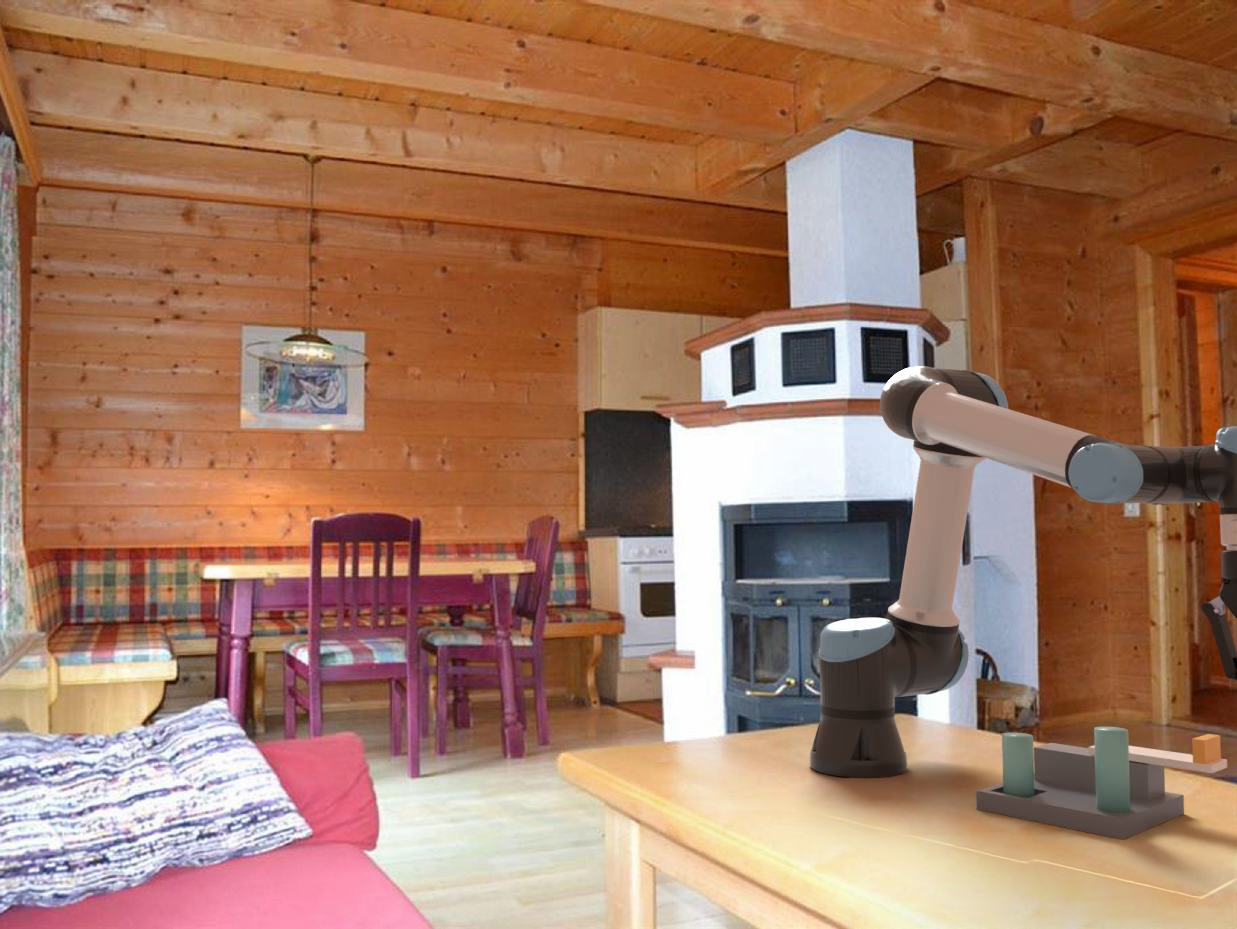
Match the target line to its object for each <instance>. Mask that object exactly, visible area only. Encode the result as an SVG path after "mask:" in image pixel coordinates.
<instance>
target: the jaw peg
mask: <svg viewBox="0 0 1237 929" xmlns="http://www.w3.org/2000/svg"><path fill="white" fill-rule="evenodd" d="M1001 741H1002V742H1001V744H1002V745H1001V746H1002V747H1001V750H1002V752H1001V753H1002V754H1001V755H1002V783H1003V793H1004V794H1009V795H1014V796H1020V797H1025V798H1028V797H1032V796H1034V735H1032V734H1029V733H1025V732H1004V733H1002V734H1001Z"/></svg>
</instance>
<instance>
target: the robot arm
mask: <svg viewBox="0 0 1237 929" xmlns="http://www.w3.org/2000/svg"><path fill="white" fill-rule="evenodd" d="M879 410H880V415H881V417H882V419H883V421H884V423H885V425H886V426H887V427H888V429H889V430H891V431H892V432H893V433H895V434H896V435H897V436H900V437H902V438H903V439H908V440H913V444H912V445H913V447H912V449H913V450H914V452H915V453H916V454H917V455H918V457H919V459H920V463H919V469H918V476H917V481H916V486H915V487H916V488H915V494H914V501H913V508H912V513H911V521H910V526H909V533H908V540H907V546H906V553H905V559H904V565H903V571H902V578H901V587H900V592H899V599H898V600H897V601H895V602H894V603H892V604H891V605H890V606H889V607H888V609H887V615H886V618H884V617H883V618H882V617H859V618H848V619H843V620H838V621H833V622H831V623H828V624H826V625H825V626H824V627H823V628H822V630H821V632H820V634H819V637H820V639H819V641H820V642H819V649H818V656H819V685H820V686H819V687H820V689H819V692H820V694H819V695H820V719H819V723H818V726H817V730H816V733H815V736H814V739H813V743H812V747H811V750H810V752H809V756H810V757H809V764H810V768H811V769H812V770H813V771H817V772H819V773H822V774H826V775H830V776H837V777H845V778H859V779H860V778H862V779H863V778H864V779H869V778H872V779H875V778H889V777H895V776H899V775H902V774H904V773H906V772H907V771H908V757H907V756H908V755H907V752H906V751H905V749H904V744H903V741H902V738H901V735H900V732H899V729H898V726H897V722H896V713H895V712H896V711H895V709H896V706H895V705H896V704H895V702H896V700H895V698H901V697H910V696H918V695H919V696H920V695H926V696H927V695H933V694H936V693H939V692H943V691H945V690H946V691H947V690H949V689H951V688H952V687H954V686H956V684H957V683H958V682H959V681H961V679H962V678H963V676H964V674H965V672H966V670H967V667H968V662H969V657H970V656H969V655H970V654H969V645H968V643H966V642H965V640H966V637H965V634H963V632H962V631H961V629H959V628H960V627H959V626H960V623H961V622H960V619H959V617H958V616H957V614H955V612H954V611H953V604H954V597H955V592H956V586H957V579H958V574H959V566H960V562H961V554H962V549H963V543H964V536H965V530H966V523H967V517H968V511H969V505H970V500H971V493H972V487H973V481H974V475H975V469H976V467H977V466H978V465H980V464H981V462H983V461H985V460H986V459H989V460H992V461H994V462H997V463H1000V464H1003V465H1006V466H1008V467H1010V468H1011V467H1012V468H1014V469H1017V470H1020V471H1023V472H1026V473H1029V474H1032V475H1034V476H1037V477H1040V478H1043V479H1044V480H1048V481H1051V482H1053V483H1058V484H1060V485H1063V486H1065V487H1068V488H1072V489H1073V490H1074V491H1075V493H1076V494H1077V495H1079V497H1080V498H1082V499H1084V500H1086V501H1089V502H1092V503H1093V502H1094V503H1100V504H1104V505H1116V504H1117V505H1118V504H1142V505H1143V504H1144V505H1145V504H1146V505H1148V504H1149V505H1153V506H1156V505H1158V506H1159V505H1161V506H1166V505H1171V504H1173V505H1175V504H1192V503H1193V504H1194V503H1195V504H1196V503H1218V507H1219V525H1220V526H1219V527H1220V544H1221V545H1222V546H1224V547H1226V550H1222V553H1221V557H1220V558H1221V577H1222V585H1221V588H1220V589H1219V593H1218V595H1219V596H1217V597H1215V598H1213V599H1211V601H1208V602H1203V603H1202V604H1201V605H1200V609H1201V611H1202V612H1203V614H1204V615H1205V616H1206V618H1207V619H1208V621H1209V622H1210V623H1209V624H1210V627H1211V630H1212V633H1213V637H1214V641H1215V643H1216V644H1215V645H1216V647H1217V650H1218V654H1219V658H1220V661H1221V666H1222V668H1223V672H1224V675H1225V677H1226V678H1228V679H1231V680H1235V681H1237V649H1236V645H1235V641H1234V637H1233V634H1232V632H1231V631H1232V630H1231V628H1230V624H1229V621H1228V619H1227V617H1226V612H1227V610H1226V609H1228V611H1230V612H1231V614H1232V615H1233V616H1234V618H1235V619H1236V620H1237V425H1235V426H1228V427H1225V426H1224V427H1222V428H1220V429H1218V431H1217V432H1216V434H1215V435H1216V436H1215V443H1212V444H1206V445H1196V446H1195V445H1194V446H1193V445H1192V446H1190V445H1189V446H1159V445H1157V446H1156V445H1155V446H1154V445H1143V444H1140V445H1136V444H1127V443H1122V442H1118V441H1115V440H1111V439H1108V438H1105V437H1101V436H1097V435H1095V434H1091V433H1088V432H1086V431H1081V430H1078V429H1075V428H1072V427H1068V426H1065V425H1062V424H1059V423H1054V422H1051V421H1049V420H1047V419H1046V420H1045V419H1043V418H1039V417H1036V416H1032V415H1030V414H1025V413H1022V412H1019V411H1015V410H1012V409H1010V408H1009V403H1008V400H1007V396H1006V393H1005V392H1004V390H1003V389H1002V387H1001V386H1000V384H999V383H998V382H997V381H996V380H995V379H994V378H992V377H991V376H990V375H987V374H984V373H981V372H977V371H976V372H975V371H971V370H969V369H953V368H940V367H931V366H925V365H923V366H922V365H918V366H913V367H907V368H904V369H902V370H900V371H898V372H897V373H895V374H894V375H893V376H892V377H890V379H889V380H888V381H887V382H886V384H885V385H884V387H883V389H882V392H881V394H880V400H879ZM1226 607H1227V608H1226Z"/></svg>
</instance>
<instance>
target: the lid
mask: <svg viewBox="0 0 1237 929" xmlns="http://www.w3.org/2000/svg"><path fill="white" fill-rule="evenodd" d="M1191 740H1192V743H1191V745H1192V746H1191V747H1192V748H1191V749H1192V754H1190V753H1184V752H1183V753H1182V752H1175V751H1169V750H1163V749H1162V750H1161V749H1155V748H1154V749H1153V748H1147V747H1141V746H1134V745H1129V761H1135V762H1141V763H1148V764H1154V765H1161V766H1164V767H1167V768H1175V769H1181V770H1188V771H1193V772H1201V773H1208V774H1213V773H1217V772H1219V771H1222V770H1224V769H1227V768H1228V760H1227V759H1223V758H1222V756H1221V755H1222V754H1221V752H1222V750H1221V735H1217V734H1212V733H1207V734H1203V735H1200V736H1197V737H1193V738H1192V739H1191ZM1087 748H1088V753H1089V755H1095V744H1093V745H1091V746H1088V747H1087Z"/></svg>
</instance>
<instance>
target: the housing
mask: <svg viewBox="0 0 1237 929" xmlns="http://www.w3.org/2000/svg"><path fill="white" fill-rule="evenodd" d="M1093 733H1094V734H1093V737H1094V738H1093V739H1094V745H1095V755H1089V753H1088V747H1082V746H1075V745H1068V744H1062V743H1055V742H1049V743H1045V744H1041V745H1037V746H1033V752H1034V796H1032V797H1028V798H1025V797H1020V796H1014V795H1009V794H1004V793H1003V782H1000V783H996V784H994V785H991V786H988V787H984V788H980V789H977V790H976V792H975V796H976V798H975V799H976V803H975V804H976V810H979V811H984V812H988V813H993V814H998V815H1002V816H1008V817H1013V818H1017V819H1023V820H1028V821H1032V822H1037V823H1041V824H1046V825H1051V826H1056V827H1061V828H1065V829H1070V830H1075V831H1080V832H1084V833H1085V832H1086V833H1089V834H1095V835H1099V836H1104V837H1109V838H1115V839H1119V840H1125V839H1127V838H1129V837H1132V836H1134V835H1137V834H1139V833H1141V832H1144V831H1147V830H1149V829H1152V828H1154V827H1156V826H1159V825H1161V824H1163V823H1165V822H1168V821H1170V820H1173V819H1176V818H1177V817H1180V816H1183V815H1185V801H1184V800H1185V798H1184V794H1179V793H1174V792H1168V791H1166V788H1165V787H1166V782H1165V781H1166V780H1165V766H1161V765H1154V764H1148V763H1141V762H1135V761H1129V746H1130V745H1129V743H1130V742H1129V730H1128V729H1126V728H1122V727H1116V726H1097V727H1094V729H1093Z"/></svg>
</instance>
